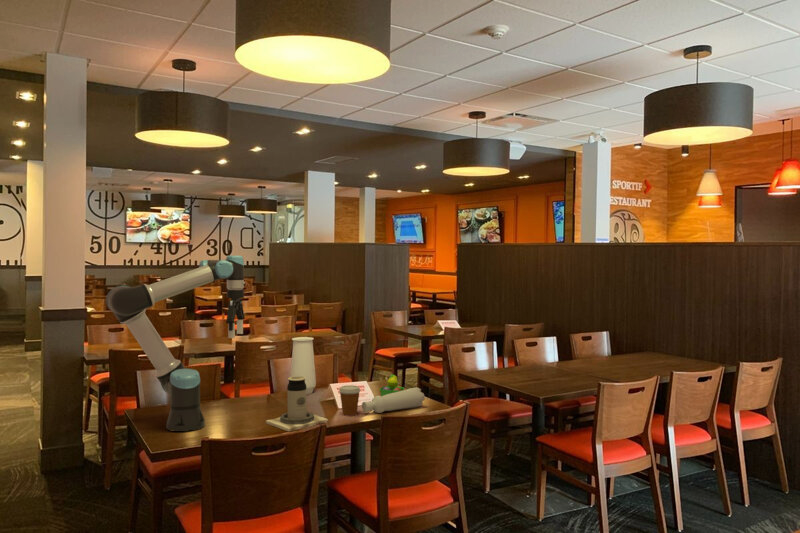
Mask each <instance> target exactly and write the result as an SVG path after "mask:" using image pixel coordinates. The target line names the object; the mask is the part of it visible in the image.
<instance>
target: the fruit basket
mask: <svg viewBox="0 0 800 533" xmlns="http://www.w3.org/2000/svg"><path fill="white" fill-rule="evenodd" d="M386 382H387V385H385V386H382V387H380V388H379V392H380V396H384V395H386V394H390V393H395V392H399V391H403V390H405V387H404V386H398V385H399V381H398V377H397V376H396V375H395V374H391V375H390V377H388V380H387V381H386Z"/></svg>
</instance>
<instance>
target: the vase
mask: <svg viewBox="0 0 800 533" xmlns="http://www.w3.org/2000/svg"><path fill="white" fill-rule="evenodd" d="M314 339H315V338H314V337H309V336H299V337H293V338H291V340H292V351H291V352H292V354H291V366H290V367H291V368H290V377H294V376H303V377H305V378H306V379H305V384H306V395H310V394H312V393H314V388H315V387H316V385H317V382H316V378H317V377H316V368H315V367H316V366H315V354H314V342H313V341H314Z"/></svg>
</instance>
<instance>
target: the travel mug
mask: <svg viewBox="0 0 800 533" xmlns="http://www.w3.org/2000/svg"><path fill="white" fill-rule="evenodd" d="M305 379H306V378H305V377H303V376H294V377H291V376H289V377H288V378H287V380H288V384H287V386H286V387H287V390H286V391H287V413H288V419H303V418H307V413H306V412H307V394H306V384H305Z"/></svg>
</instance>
